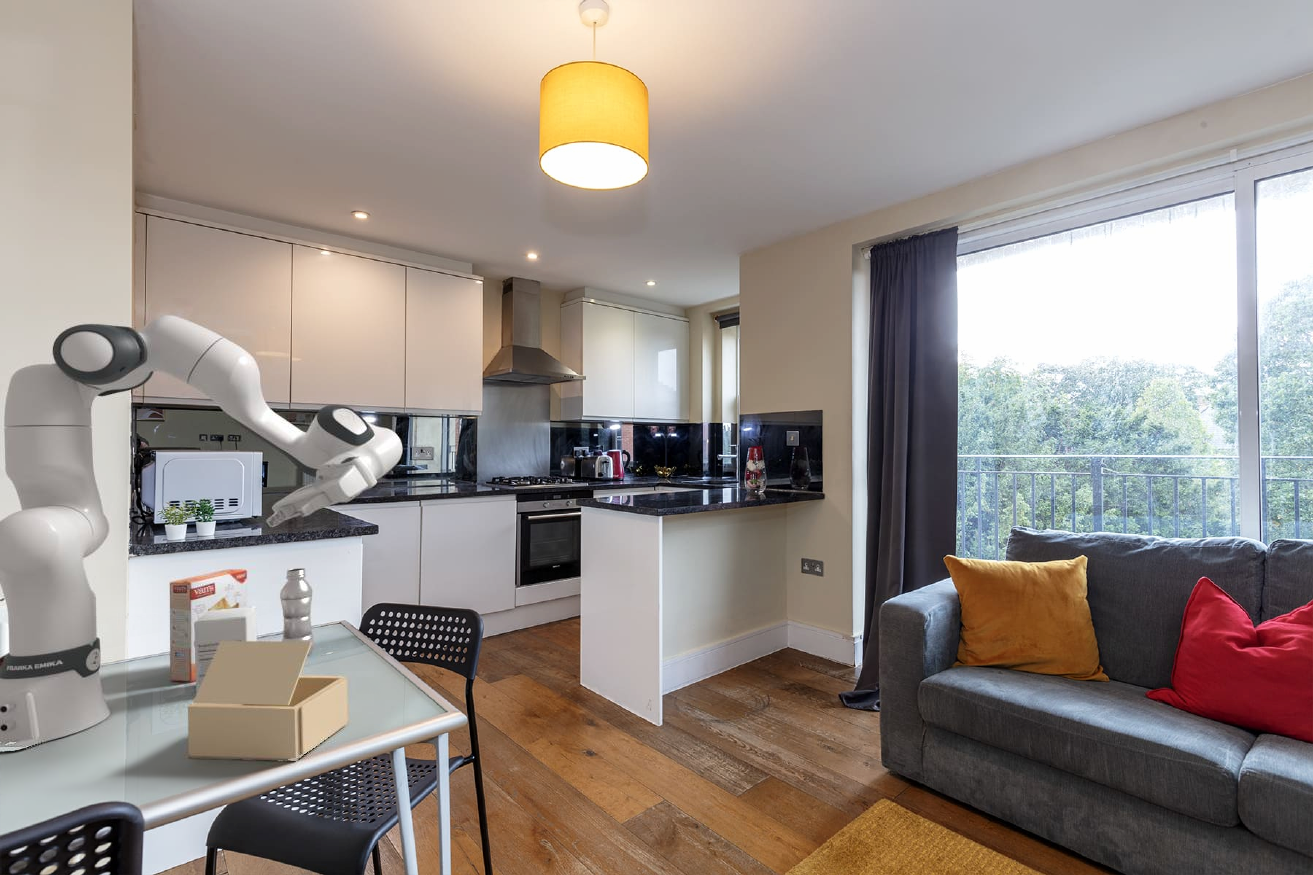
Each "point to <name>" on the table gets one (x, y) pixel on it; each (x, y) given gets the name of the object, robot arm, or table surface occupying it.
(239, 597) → the cracker box
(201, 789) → the table surface
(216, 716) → the carton
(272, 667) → the flap
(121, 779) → the table surface
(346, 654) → the table surface
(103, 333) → the robot arm
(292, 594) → the plastic bottle
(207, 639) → the supplement box
